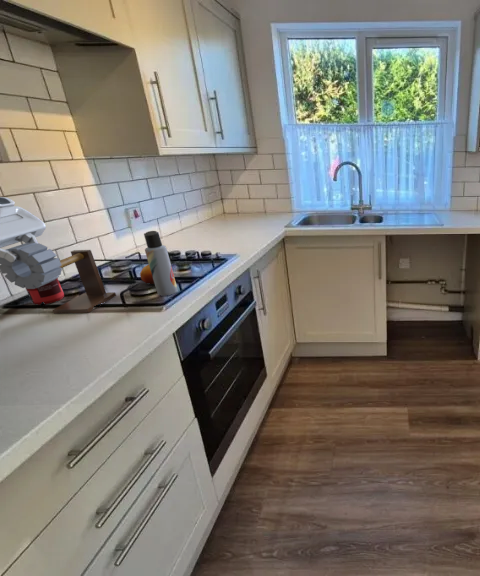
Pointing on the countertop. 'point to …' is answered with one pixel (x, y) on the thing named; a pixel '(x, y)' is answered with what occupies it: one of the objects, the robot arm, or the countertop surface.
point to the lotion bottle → (160, 264)
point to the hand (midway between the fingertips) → (29, 254)
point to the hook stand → (85, 284)
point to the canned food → (46, 293)
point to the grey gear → (31, 266)
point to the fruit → (147, 275)
